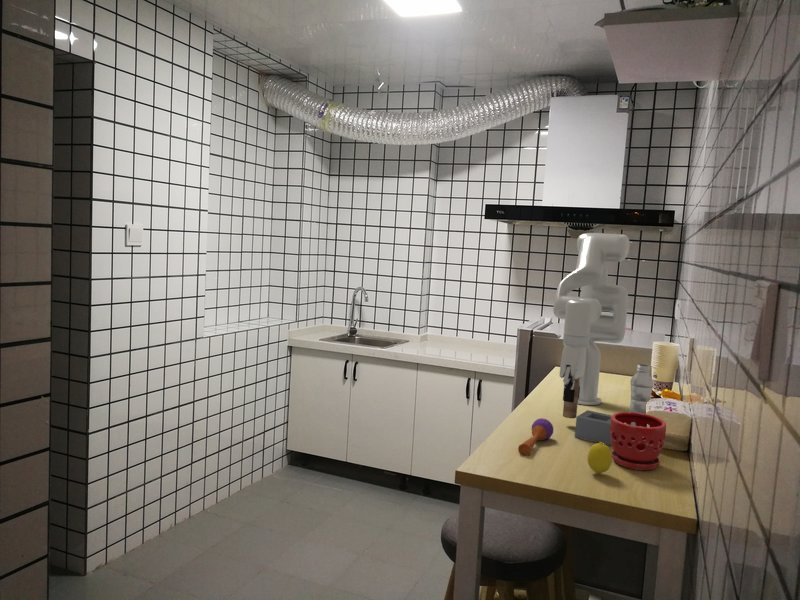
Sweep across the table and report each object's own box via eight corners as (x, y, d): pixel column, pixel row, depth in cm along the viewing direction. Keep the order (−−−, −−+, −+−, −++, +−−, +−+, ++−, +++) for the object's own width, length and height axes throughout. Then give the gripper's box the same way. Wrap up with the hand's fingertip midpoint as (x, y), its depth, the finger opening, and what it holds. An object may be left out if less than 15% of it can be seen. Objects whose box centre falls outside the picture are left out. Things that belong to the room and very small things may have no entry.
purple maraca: (511, 438, 158) (533, 415, 175) (514, 460, 158) (536, 435, 176) (534, 439, 155) (554, 415, 172) (537, 461, 155) (556, 436, 173)
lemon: (613, 475, 146) (617, 442, 146) (604, 480, 142) (607, 447, 142) (592, 468, 150) (595, 436, 149) (582, 473, 146) (585, 441, 145)
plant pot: (603, 452, 163) (607, 409, 161) (654, 458, 160) (659, 414, 159) (611, 470, 150) (616, 422, 149) (667, 477, 148) (672, 428, 146)
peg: (565, 413, 188) (569, 369, 187) (578, 416, 186) (581, 371, 184) (560, 416, 185) (564, 371, 183) (573, 419, 183) (577, 373, 181)
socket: (585, 429, 183) (587, 410, 182) (619, 437, 177) (621, 417, 177) (574, 437, 175) (576, 416, 174) (610, 445, 169) (612, 424, 169)
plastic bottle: (651, 433, 183) (658, 368, 181) (627, 430, 184) (634, 366, 183) (647, 427, 189) (653, 364, 188) (624, 424, 191) (630, 362, 189)
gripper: (573, 335, 192) (568, 392, 194) (554, 342, 178) (549, 403, 180) (596, 339, 187) (591, 396, 190) (579, 346, 174) (573, 408, 176)
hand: (570, 399), depth 185 cm, fingers closed on peg, 4 cm apart
